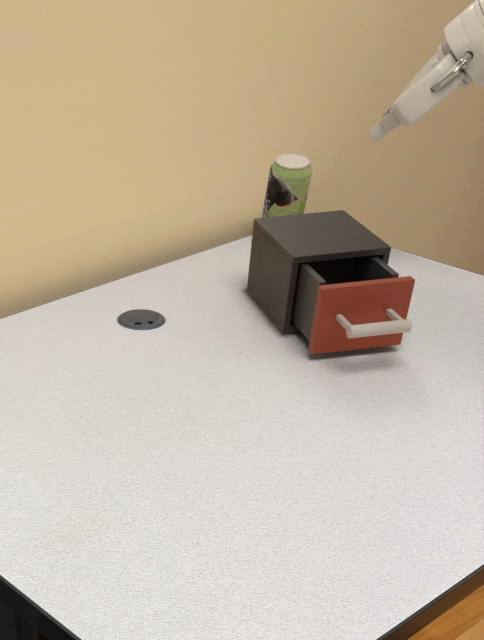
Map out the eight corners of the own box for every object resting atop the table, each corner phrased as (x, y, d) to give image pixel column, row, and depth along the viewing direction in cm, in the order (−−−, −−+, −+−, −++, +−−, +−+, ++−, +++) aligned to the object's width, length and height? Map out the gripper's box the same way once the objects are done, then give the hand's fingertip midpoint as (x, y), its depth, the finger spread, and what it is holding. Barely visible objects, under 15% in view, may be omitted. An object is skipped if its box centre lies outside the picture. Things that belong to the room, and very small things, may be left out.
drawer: (419, 362, 102) (436, 296, 97) (327, 373, 101) (339, 306, 96) (354, 301, 116) (366, 240, 111) (273, 309, 115) (281, 248, 110)
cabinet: (375, 324, 113) (391, 247, 106) (282, 334, 112) (293, 257, 105) (331, 281, 124) (343, 209, 117) (246, 290, 123) (253, 218, 117)
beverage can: (285, 229, 140) (296, 146, 132) (311, 244, 135) (323, 158, 127) (250, 236, 139) (258, 152, 131) (274, 251, 134) (284, 165, 126)
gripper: (480, 85, 106) (378, 167, 116) (498, 52, 119) (405, 128, 129) (450, 40, 104) (349, 126, 114) (471, 12, 118) (379, 92, 128)
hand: (379, 127), depth 122 cm, fingers open, 8 cm apart
